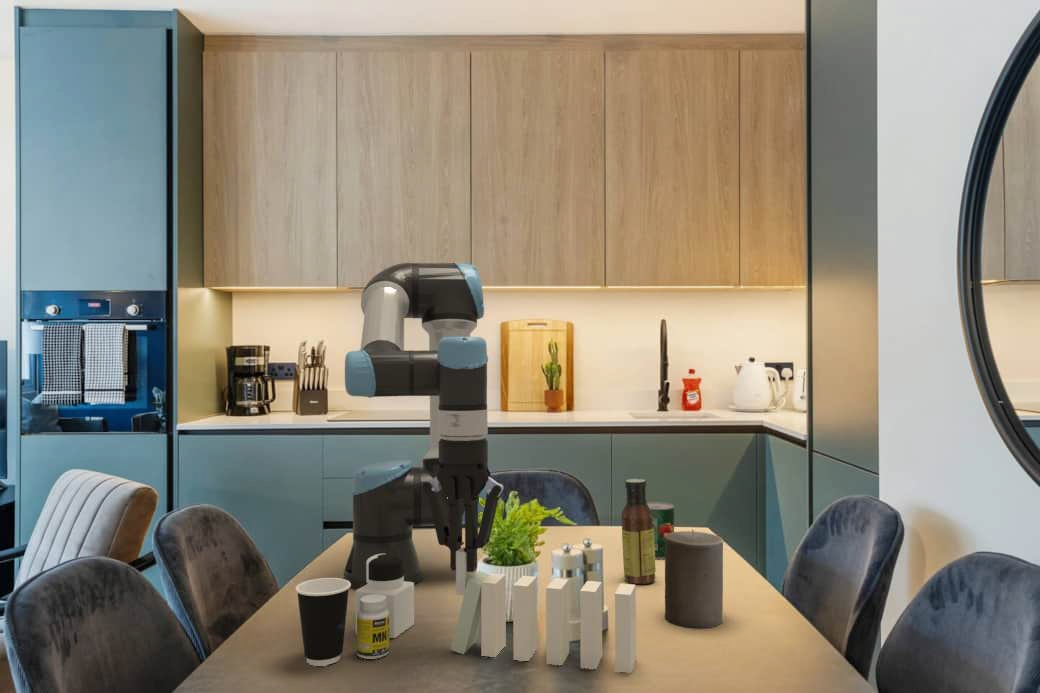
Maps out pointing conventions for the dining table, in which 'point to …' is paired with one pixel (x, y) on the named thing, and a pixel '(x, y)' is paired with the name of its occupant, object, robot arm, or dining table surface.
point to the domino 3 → (557, 621)
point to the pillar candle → (693, 579)
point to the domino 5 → (625, 627)
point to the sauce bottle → (638, 535)
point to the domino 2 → (525, 618)
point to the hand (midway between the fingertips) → (464, 592)
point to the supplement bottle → (373, 627)
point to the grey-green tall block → (469, 615)
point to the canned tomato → (661, 525)
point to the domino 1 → (493, 614)
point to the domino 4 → (591, 624)
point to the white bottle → (389, 590)
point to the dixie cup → (323, 618)
